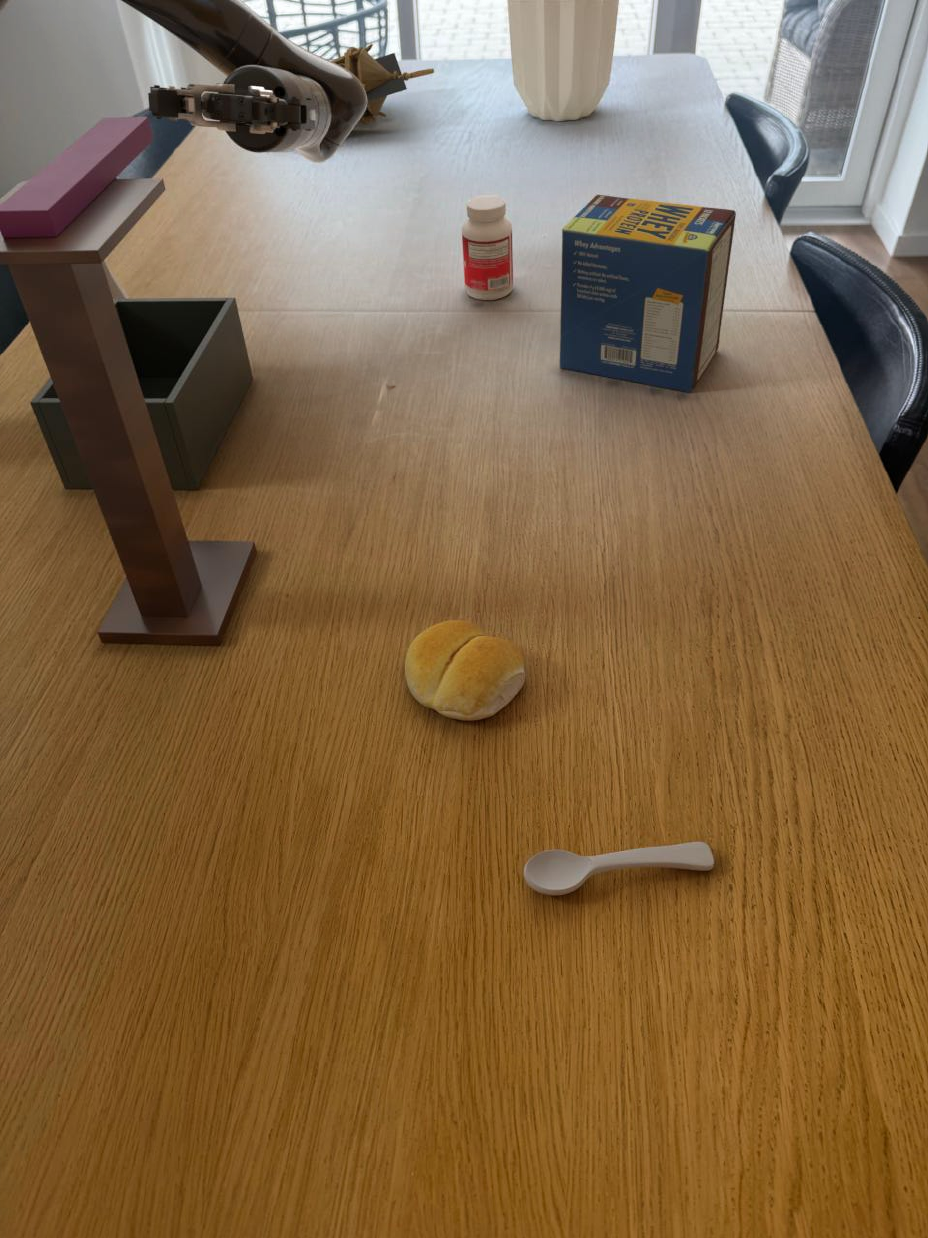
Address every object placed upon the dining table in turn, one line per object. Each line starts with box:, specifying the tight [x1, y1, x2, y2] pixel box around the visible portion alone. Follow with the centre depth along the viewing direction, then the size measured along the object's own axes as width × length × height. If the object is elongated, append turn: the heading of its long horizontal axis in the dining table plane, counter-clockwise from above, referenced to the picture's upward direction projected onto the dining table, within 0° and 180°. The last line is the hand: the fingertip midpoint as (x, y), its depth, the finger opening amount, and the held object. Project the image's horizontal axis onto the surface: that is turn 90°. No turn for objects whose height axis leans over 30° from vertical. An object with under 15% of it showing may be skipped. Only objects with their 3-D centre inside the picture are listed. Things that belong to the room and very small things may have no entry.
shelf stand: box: [0, 177, 258, 647], centre depth 71 cm, size 10×12×32 cm
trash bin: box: [29, 297, 254, 491], centre depth 99 cm, size 14×22×10 cm, turn 175°
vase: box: [507, 0, 620, 122], centre depth 167 cm, size 20×20×27 cm
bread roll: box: [404, 619, 527, 722], centre depth 72 cm, size 8×9×4 cm
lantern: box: [330, 43, 435, 125], centre depth 175 cm, size 14×23×30 cm
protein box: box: [558, 194, 737, 393], centre depth 103 cm, size 10×15×16 cm
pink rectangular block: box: [0, 116, 155, 238], centre depth 64 cm, size 3×18×2 cm, turn 175°
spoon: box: [522, 841, 715, 896], centre depth 60 cm, size 3×12×2 cm, turn 97°
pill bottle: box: [461, 194, 514, 301], centre depth 119 cm, size 6×6×11 cm
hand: (201, 106), depth 83 cm, fingers open, 8 cm apart
